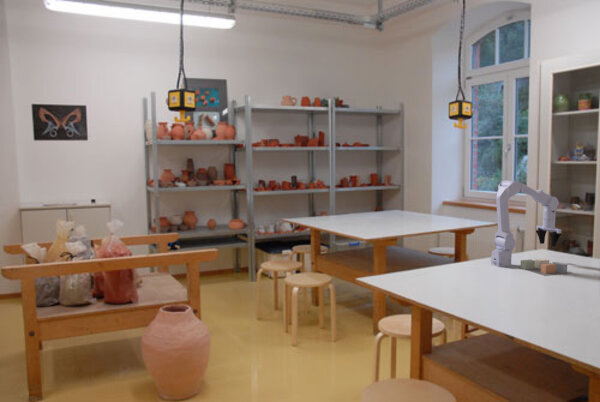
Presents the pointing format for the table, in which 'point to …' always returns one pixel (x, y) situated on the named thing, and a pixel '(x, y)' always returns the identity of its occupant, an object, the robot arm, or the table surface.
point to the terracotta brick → (548, 268)
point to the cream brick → (540, 262)
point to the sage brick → (527, 264)
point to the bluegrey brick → (560, 267)
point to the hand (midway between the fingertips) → (547, 244)
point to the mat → (544, 273)
